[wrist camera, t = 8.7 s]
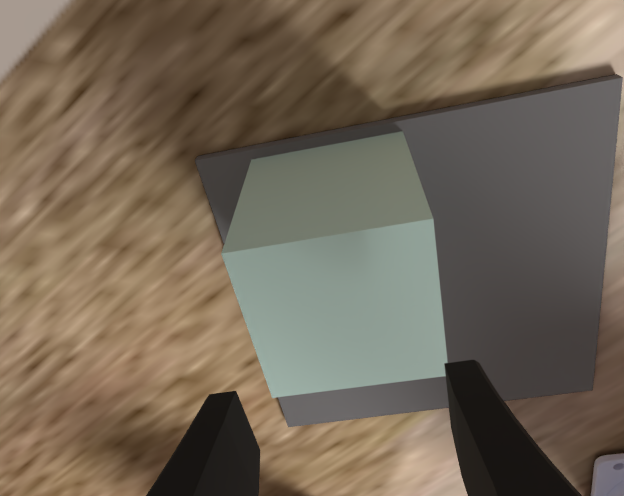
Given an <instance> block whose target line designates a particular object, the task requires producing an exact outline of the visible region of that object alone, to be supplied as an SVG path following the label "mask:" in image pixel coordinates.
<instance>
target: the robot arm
mask: <svg viewBox="0 0 624 496" xmlns="http://www.w3.org/2000/svg"><path fill="white" fill-rule="evenodd" d="M444 365H445V375H446V384H447V393H448V402H449V411H450V420H451V429H452V433H453V438H454V443H455V447H456V452H457V457H458V461H459V466H460V470H461V475H462V478H463V481H464V485H465V488H466V491H467V494H468V496H582V495H581V494H580V493H579V492H578V491H577V490H576V489H575V488H574V487H573V486H572V484H571V483H570V482H569V481H568V480H567V479H566V478H565V477H564V475H563V474H562V473H561V472H560V471H559V470H558V469H557V468H556V466H555V465H554V464H553V463H552V462H551V461H550V459H549V458H548V457H547V456H546V455H545V454H544V452H543V451H542V450H541V449H540V448H539V446H538V445H537V444H536V443H535V441H534V440H533V439H532V438H531V436H530V435H529V434H528V433H527V431H526V430H525V429H524V428H523V426H522V425H521V424H520V422H519V421H518V420H517V419H516V417H515V416H514V415H513V413H512V412H511V411H510V409H509V408H508V406H507V405H506V404H505V402H504V401H503V399H502V398H501V397H500V395H499V394H498V392H497V391H496V389H495V388H494V386H493V385H492V383H491V381H490V380H489V378H488V377H487V375H486V373H485V372H484V370H483V368H482V366H481V364H480V363H479V362H477V361H476V360H466V361H459V362H451V363H444ZM259 472H260V449H259V446H258V444H257V441H256V439H255V436H254V434H253V431H252V429H251V427H250V424H249V422H248V419H247V417H246V414H245V412H244V409H243V407H242V404H241V402H240V400H239V397H238V395H237V392H236V391H232V392H224V393H216V394H210V395H209V396H208V397H207V399H206V400H205V402H204V404H203V405H202V407H201V409H200V410H199V412H198V414H197V415H196V417H195V419H194V420H193V422H192V424H191V425H190V427H189V429H188V430H187V432H186V434H185V435H184V437H183V439H182V440H181V442H180V444H179V445H178V447H177V449H176V450H175V452H174V453H173V455H172V457H171V458H170V460H169V461H168V463H167V464H166V466H165V467H164V469H163V471H162V472H161V474H160V475H159V477H158V478H157V480H156V482H155V483H154V485H153V486H152V488H151V489H150V491H149V492H148V494H147V495H146V496H258V493H259ZM591 496H624V453H620V454H611V455H603V456H600V457H598V458H597V459H596V460H595V463H594V472H593V481H592V490H591Z"/></svg>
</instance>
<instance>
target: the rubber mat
mask: <svg viewBox="0 0 624 496" xmlns="http://www.w3.org/2000/svg"><path fill="white" fill-rule="evenodd" d="M622 79H623V77H621V76H619V75H617V74H616V75H611V76H606V77H601V78H595V79H590V80H585V81H580V82H575V83H570V84H565V85H560V86H554V87H549V88H544V89H539V90H534V91H529V92H524V93H519V94H513V95H508V96H503V97H498V98H493V99H488V100H483V101H478V102H473V103H467V104H462V105H457V106H452V107H447V108H442V109H437V110H432V111H426V112H421V113H416V114H411V115H406V116H401V117H396V118H391V119H386V120H380V121H375V122H370V123H365V124H360V125H355V126H350V127H345V128H339V129H334V130H329V131H324V132H319V133H314V134H309V135H304V136H298V137H293V138H288V139H283V140H278V141H273V142H268V143H263V144H258V145H252V146H247V147H242V148H237V149H232V150H227V151H222V152H217V153H211V154H206V155H201V156H197V158H196V159H195V163H196V166H197V169H198V171H199V174H200V177H201V180H202V183H203V186H204V189H205V191H206V194H207V197H208V200H209V203H210V206H211V208H212V211H213V214H214V217H215V220H216V223H217V226H218V228H219V231H220V234H221V237H222V240H223V243H224V244H225V241H226V237H227V234H228V231H229V228H230V225H231V222H232V219H233V216H234V212H235V209H236V206H237V203H238V200H239V197H240V194H241V190H242V187H243V184H244V181H245V178H246V175H247V172H248V169H249V165H250V162H251V160H252V159H257V158H262V157H268V156H273V155H278V154H284V153H289V152H294V151H300V150H305V149H310V148H316V147H321V146H326V145H332V144H337V143H342V142H348V141H353V140H358V139H364V138H369V137H374V136H380V135H385V134H390V133H396V132H401V131H403V133H404V136H405V139H406V142H407V145H408V148H409V151H410V153H411V156H412V159H413V162H414V165H415V168H416V171H417V173H418V176H419V179H420V182H421V185H422V188H423V191H424V193H425V196H426V199H427V202H428V205H429V208H430V211H431V213H432V216H433V220H434V230H435V240H436V250H437V261H438V271H439V281H440V291H441V301H442V311H443V321H444V331H445V341H446V352H447V362H448V363H451V362H459V361H466V360H476V361H477V362H479V363H480V364H481V366H482V368H483V370H484V372H485V373H486V375H487V377H488V378H489V380H490V381H491V383H492V385H493V386H494V388H495V389H496V391H497V392H498V394H499V395H500V397H501V398H502V399H503V401H508V400H516V399H525V398H533V397H541V396H550V395H558V394H566V393H574V392H583V391H591V390H593V381H594V371H595V360H596V350H597V340H598V329H599V319H600V308H601V298H602V288H603V277H604V267H605V256H606V246H607V236H608V225H609V215H610V204H611V194H612V183H613V173H614V163H615V152H616V142H617V131H618V121H619V111H620V100H621V90H622ZM278 399H279V402H280V405H281V408H282V411H283V413H284V416H285V419H286V422H287V425H288V427H293V426H301V425H310V424H318V423H326V422H334V421H343V420H351V419H359V418H368V417H376V416H384V415H392V414H401V413H409V412H417V411H425V410H434V409H442V408H449V402H448V393H447V384H446V376H442V377H434V378H426V379H419V380H411V381H403V382H395V383H387V384H379V385H371V386H363V387H355V388H347V389H339V390H331V391H323V392H316V393H308V394H300V395H292V396H284V397H278Z"/></svg>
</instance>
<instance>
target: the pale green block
mask: <svg viewBox="0 0 624 496" xmlns="http://www.w3.org/2000/svg"><path fill="white" fill-rule="evenodd" d="M221 254H222V257H223V260H224V263H225V266H226V268H227V271H228V274H229V277H230V280H231V283H232V285H233V288H234V291H235V294H236V297H237V300H238V302H239V305H240V308H241V311H242V314H243V316H244V319H245V322H246V325H247V328H248V331H249V333H250V336H251V339H252V342H253V345H254V348H255V350H256V353H257V356H258V359H259V362H260V365H261V367H262V370H263V373H264V376H265V379H266V381H267V384H268V387H269V390H270V393H271V396H272V398H276V397H284V396H292V395H300V394H308V393H316V392H323V391H331V390H339V389H347V388H355V387H363V386H371V385H379V384H387V383H395V382H403V381H411V380H419V379H426V378H434V377H442V376H446V375H445V365H444V363H448V362H447V352H446V341H445V331H444V321H443V311H442V301H441V291H440V281H439V271H438V261H437V250H436V240H435V230H434V220H433V216H432V213H431V211H430V208H429V205H428V202H427V199H426V196H425V193H424V191H423V188H422V185H421V182H420V179H419V176H418V173H417V171H416V168H415V165H414V162H413V159H412V156H411V153H410V151H409V148H408V145H407V142H406V139H405V136H404V133H403V131H401V132H396V133H390V134H385V135H380V136H374V137H369V138H364V139H358V140H353V141H348V142H342V143H337V144H332V145H326V146H321V147H316V148H310V149H305V150H300V151H294V152H289V153H284V154H278V155H273V156H268V157H262V158H257V159H252V160H251V162H250V165H249V169H248V172H247V175H246V178H245V181H244V184H243V187H242V190H241V194H240V197H239V200H238V203H237V206H236V209H235V212H234V216H233V219H232V222H231V225H230V228H229V231H228V234H227V237H226V241H225V244H224V247H223V250H222V253H221Z"/></svg>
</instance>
